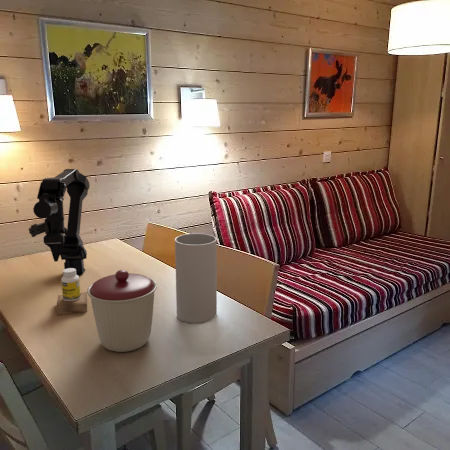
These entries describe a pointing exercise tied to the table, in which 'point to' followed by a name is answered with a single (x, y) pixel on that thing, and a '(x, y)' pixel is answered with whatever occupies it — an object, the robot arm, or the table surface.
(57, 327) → the table surface
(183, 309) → the cylinder vase
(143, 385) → the table surface
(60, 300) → the square wooden block
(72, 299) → the supplement bottle
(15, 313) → the table surface
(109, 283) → the canister
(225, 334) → the table surface
